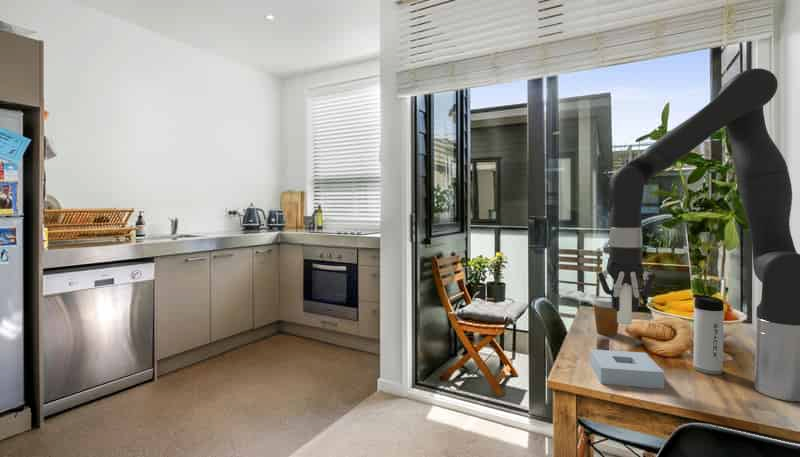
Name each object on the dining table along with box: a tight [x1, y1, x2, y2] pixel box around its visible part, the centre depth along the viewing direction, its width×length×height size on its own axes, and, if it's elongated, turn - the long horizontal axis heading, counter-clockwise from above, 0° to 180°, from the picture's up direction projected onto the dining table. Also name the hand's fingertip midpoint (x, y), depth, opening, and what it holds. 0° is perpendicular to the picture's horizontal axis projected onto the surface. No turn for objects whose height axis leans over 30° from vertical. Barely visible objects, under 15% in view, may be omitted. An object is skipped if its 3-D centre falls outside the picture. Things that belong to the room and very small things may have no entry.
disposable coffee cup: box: [591, 296, 620, 337], centre depth 144 cm, size 10×10×12 cm
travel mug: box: [692, 293, 725, 376], centre depth 110 cm, size 6×7×20 cm
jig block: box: [589, 348, 665, 390], centre depth 108 cm, size 14×14×4 cm
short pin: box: [596, 336, 610, 350], centre depth 123 cm, size 3×3×5 cm
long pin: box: [617, 284, 633, 326], centre depth 108 cm, size 3×3×10 cm
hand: (624, 310), depth 108 cm, fingers closed on long pin, 3 cm apart
